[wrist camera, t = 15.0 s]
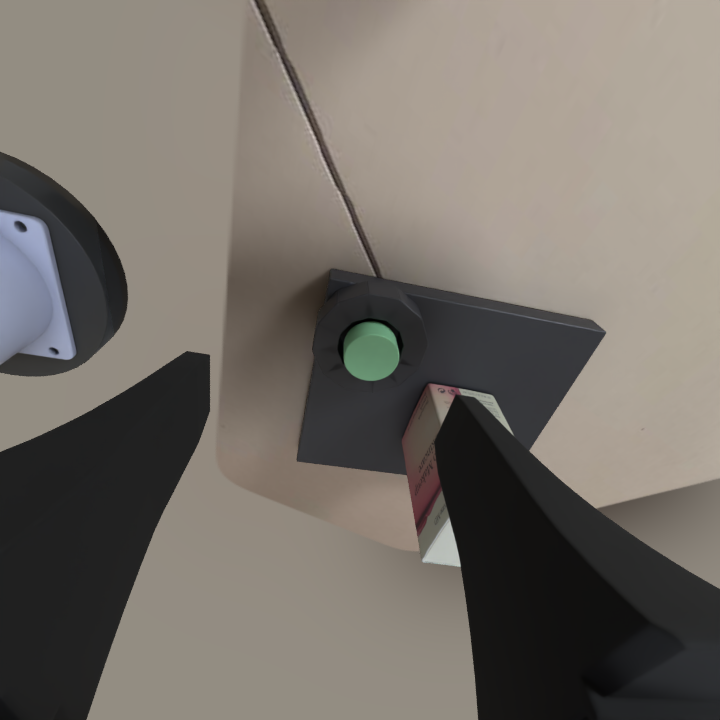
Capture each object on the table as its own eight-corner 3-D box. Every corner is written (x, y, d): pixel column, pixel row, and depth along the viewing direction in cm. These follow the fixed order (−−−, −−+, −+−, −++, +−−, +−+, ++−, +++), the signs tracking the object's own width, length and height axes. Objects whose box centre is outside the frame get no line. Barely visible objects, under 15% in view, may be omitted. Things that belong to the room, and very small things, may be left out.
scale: (294, 445, 26) (289, 481, 23) (326, 262, 19) (323, 284, 16) (498, 472, 28) (513, 507, 25) (595, 316, 21) (629, 343, 18)
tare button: (339, 361, 19) (338, 376, 18) (349, 315, 18) (349, 330, 16) (388, 369, 19) (391, 385, 18) (402, 325, 18) (406, 340, 17)
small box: (426, 379, 21) (462, 498, 15) (495, 393, 22) (558, 513, 15) (398, 441, 24) (418, 565, 17) (460, 452, 25) (502, 575, 18)
